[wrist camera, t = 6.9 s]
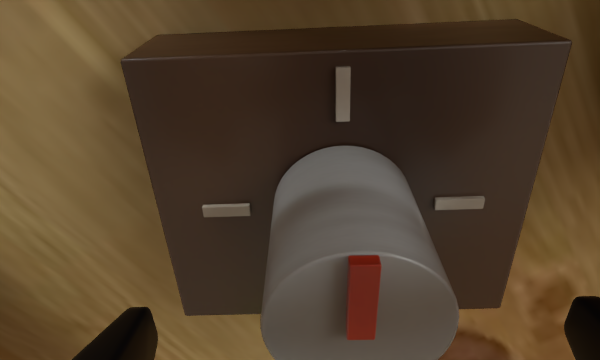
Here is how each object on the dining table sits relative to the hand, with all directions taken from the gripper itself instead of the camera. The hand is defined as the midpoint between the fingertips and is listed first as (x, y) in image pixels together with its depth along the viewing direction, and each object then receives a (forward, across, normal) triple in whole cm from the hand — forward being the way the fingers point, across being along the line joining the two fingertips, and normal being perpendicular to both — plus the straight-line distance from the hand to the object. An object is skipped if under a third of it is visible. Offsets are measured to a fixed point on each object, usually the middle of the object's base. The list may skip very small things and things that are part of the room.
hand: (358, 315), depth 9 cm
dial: (+4, 0, 0) cm, 4 cm away
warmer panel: (+7, 0, 0) cm, 7 cm away
